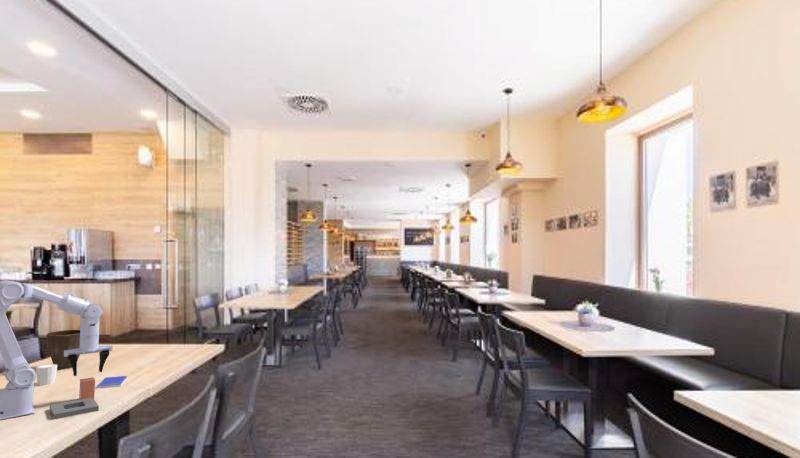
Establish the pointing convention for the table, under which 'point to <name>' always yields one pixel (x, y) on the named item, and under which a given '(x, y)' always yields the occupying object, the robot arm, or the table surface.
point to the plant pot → (62, 346)
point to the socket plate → (73, 408)
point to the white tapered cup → (46, 374)
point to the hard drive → (112, 382)
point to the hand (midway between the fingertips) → (87, 373)
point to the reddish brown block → (87, 388)
